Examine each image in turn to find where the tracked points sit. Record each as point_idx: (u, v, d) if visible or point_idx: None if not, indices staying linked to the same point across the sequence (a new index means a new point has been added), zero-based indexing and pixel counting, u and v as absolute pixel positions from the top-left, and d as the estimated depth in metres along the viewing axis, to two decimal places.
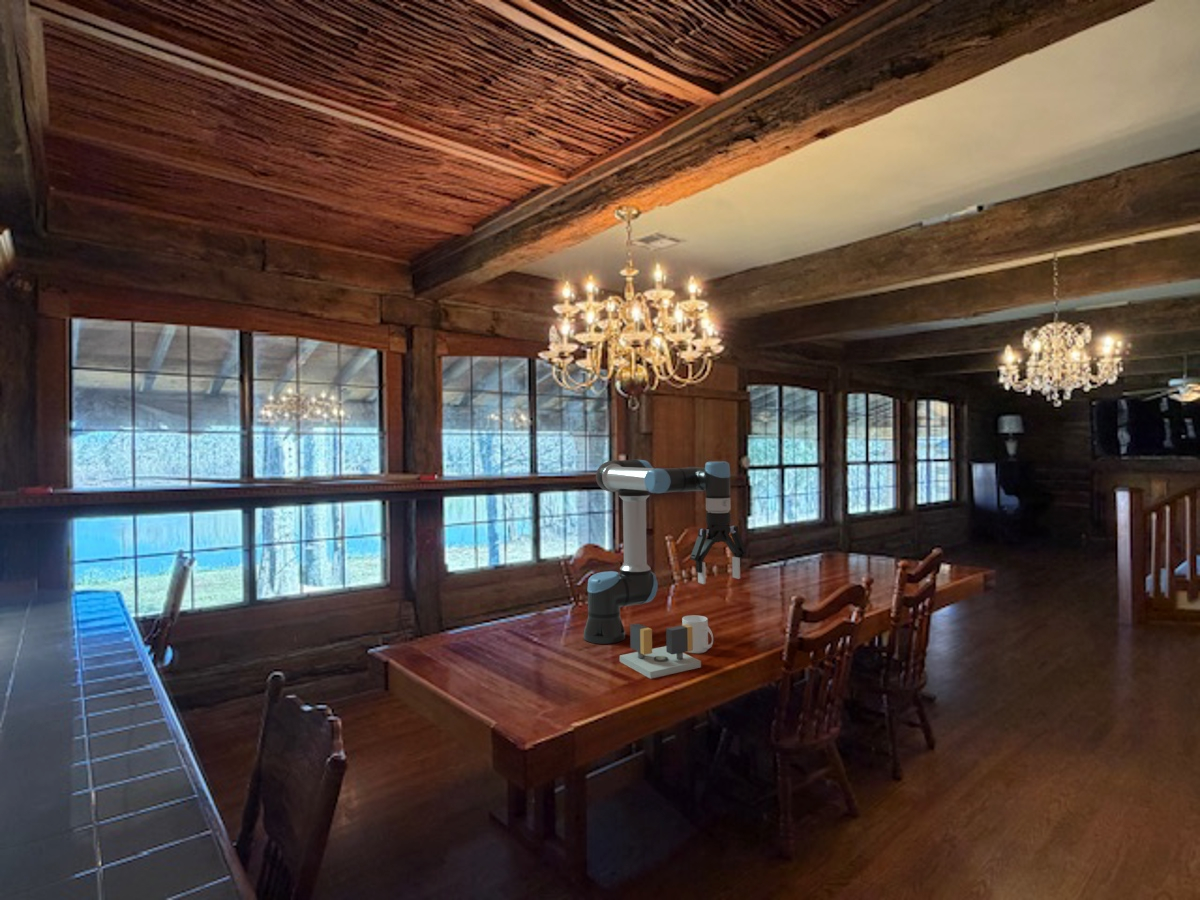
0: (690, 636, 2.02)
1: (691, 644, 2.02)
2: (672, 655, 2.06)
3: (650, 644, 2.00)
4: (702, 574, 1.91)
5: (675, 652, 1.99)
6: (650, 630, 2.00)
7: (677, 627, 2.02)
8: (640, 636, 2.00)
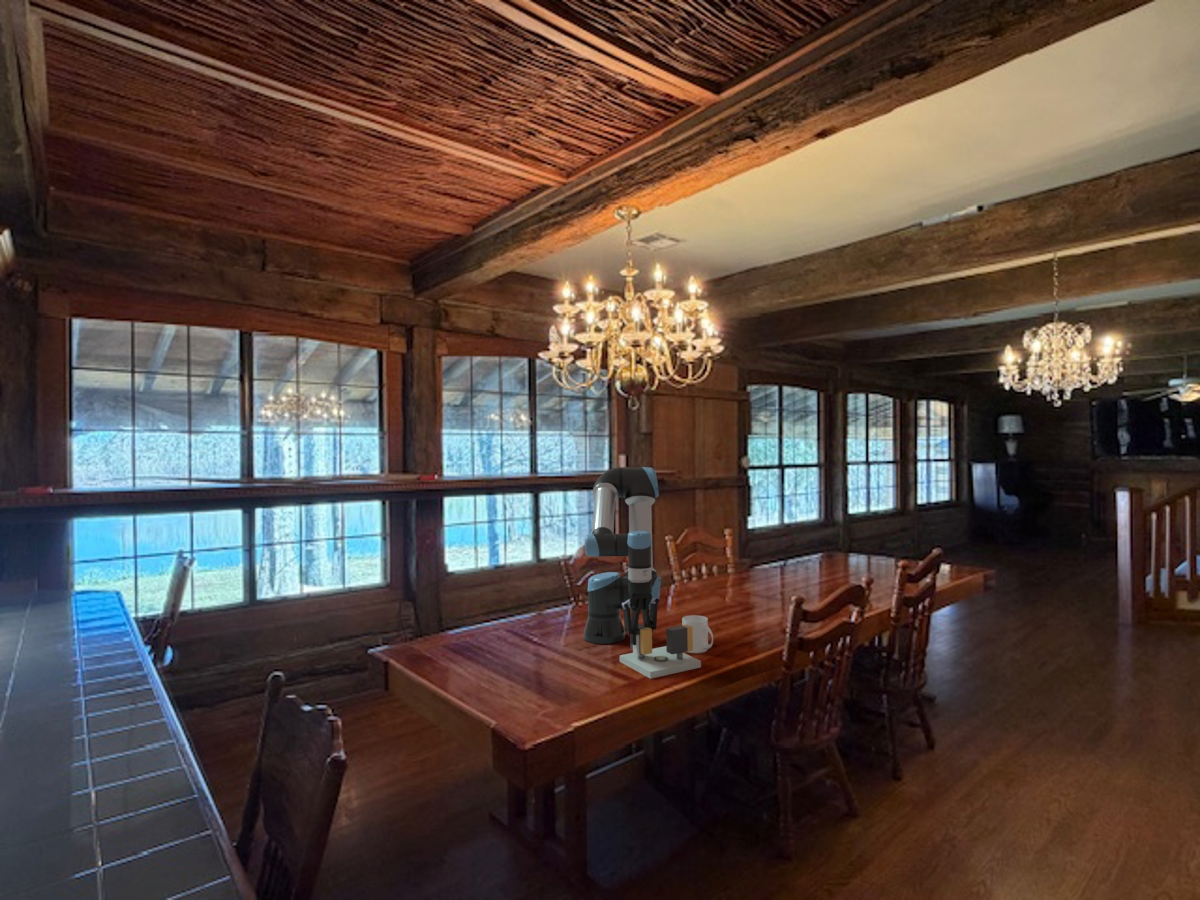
0: (690, 636, 2.02)
1: (691, 644, 2.02)
2: (672, 655, 2.06)
3: (650, 644, 2.00)
4: (636, 646, 2.01)
5: (675, 652, 1.99)
6: (650, 630, 2.00)
7: (677, 627, 2.02)
8: (640, 636, 2.00)
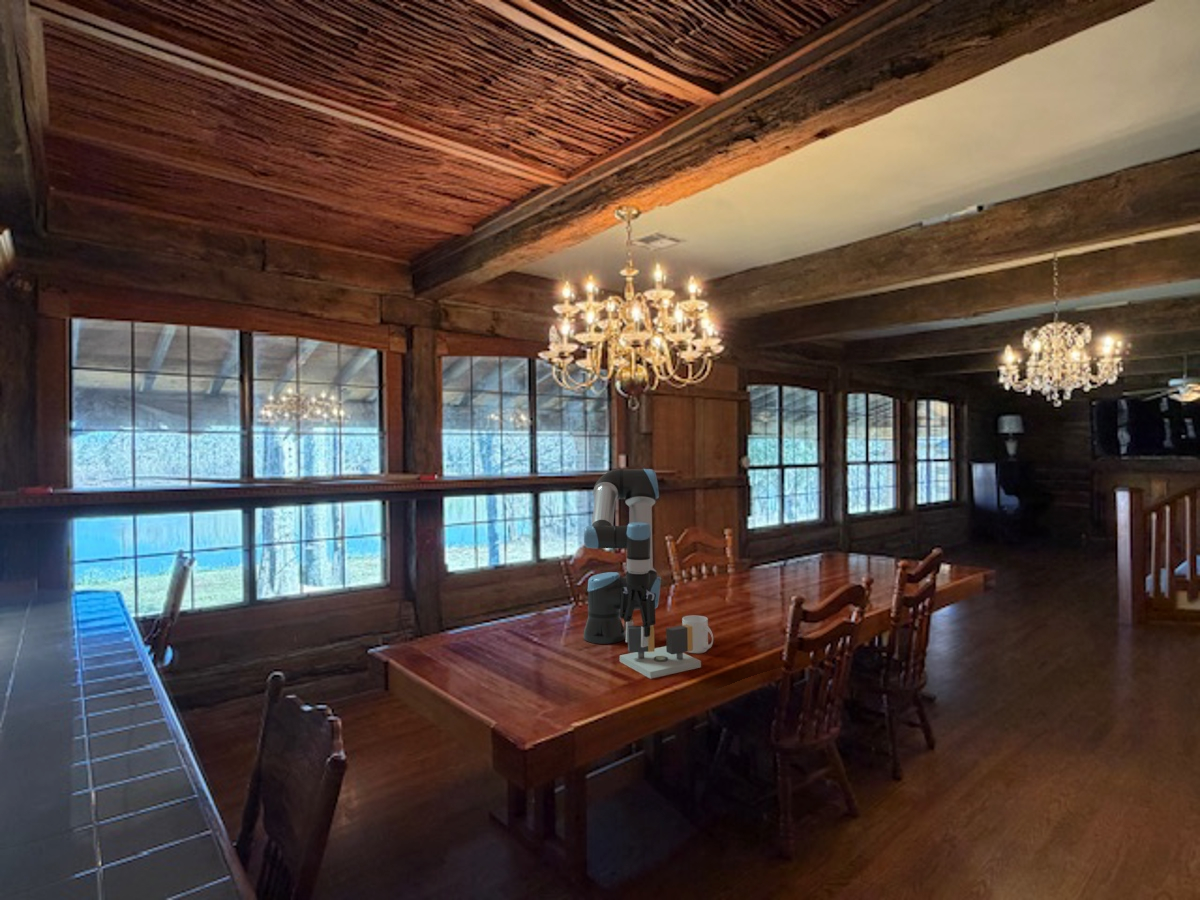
0: (690, 636, 2.02)
1: (691, 644, 2.02)
2: (672, 655, 2.06)
3: None
4: (647, 637, 2.01)
5: (675, 652, 1.99)
6: (652, 626, 2.05)
7: (677, 627, 2.02)
8: None
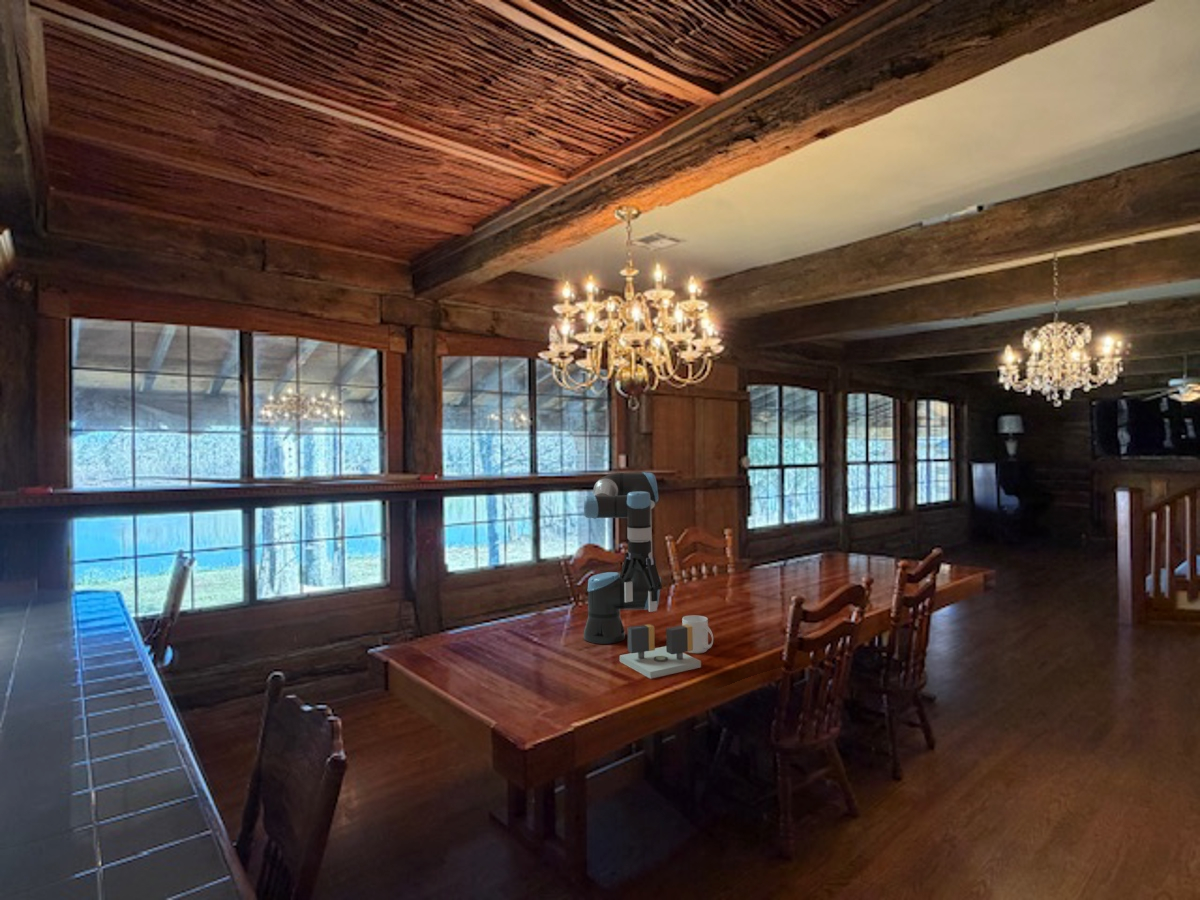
0: (690, 636, 2.02)
1: (691, 644, 2.02)
2: (672, 655, 2.06)
3: None
4: (655, 601, 1.98)
5: (675, 652, 1.99)
6: None
7: (677, 627, 2.02)
8: (649, 633, 2.03)
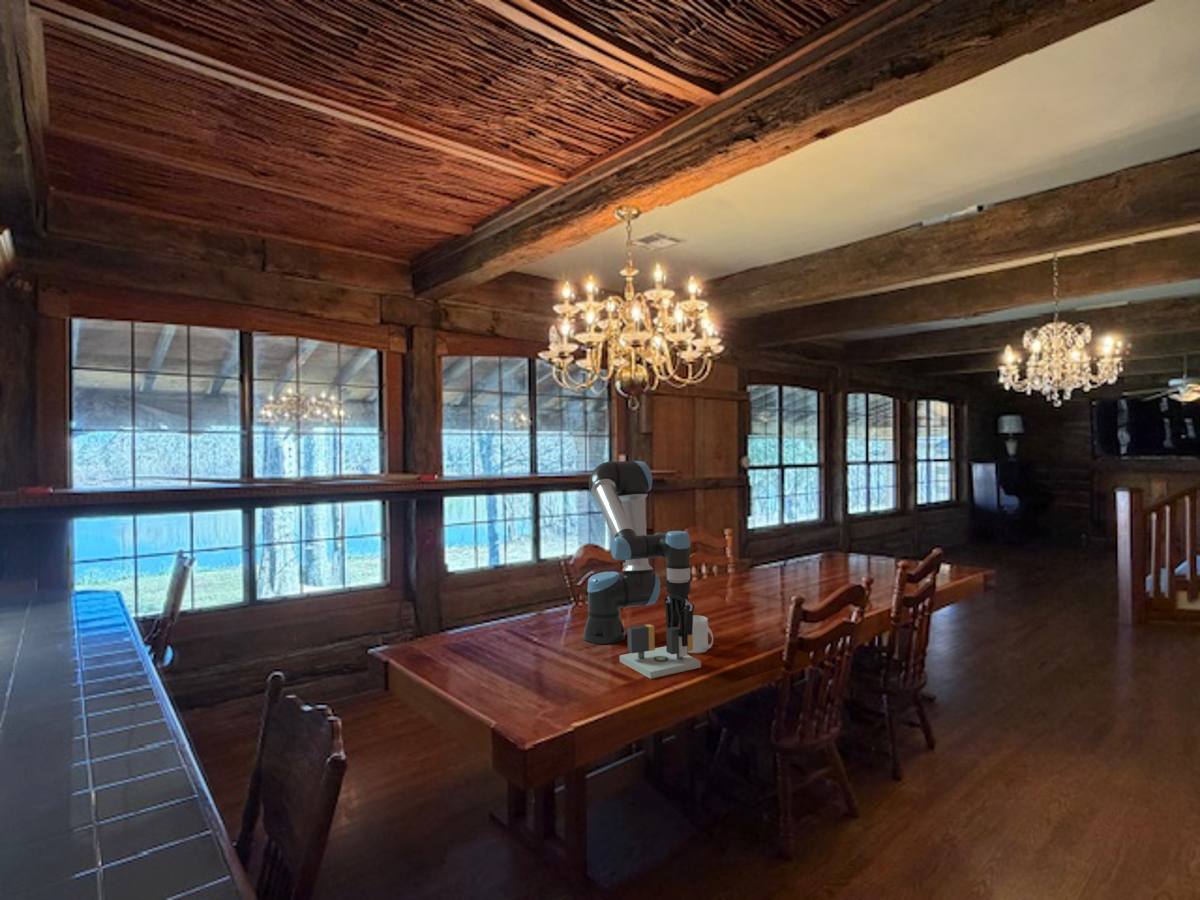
0: (690, 636, 2.02)
1: (691, 644, 2.02)
2: (672, 655, 2.06)
3: None
4: (685, 646, 2.00)
5: (675, 652, 1.99)
6: None
7: (677, 627, 2.02)
8: (649, 633, 2.03)
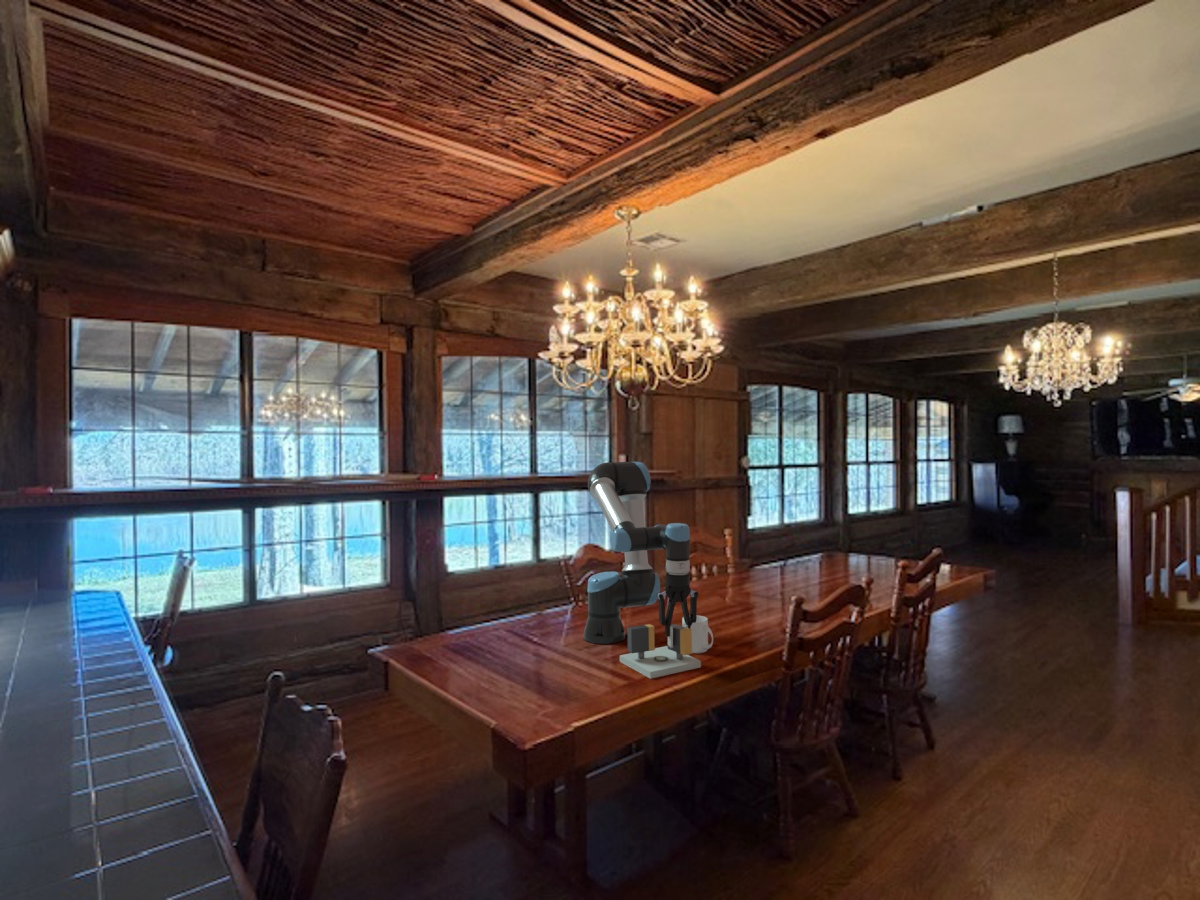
0: (682, 640, 1.98)
1: (683, 648, 1.98)
2: (672, 655, 2.06)
3: None
4: (670, 638, 2.01)
5: (670, 648, 2.03)
6: None
7: (678, 626, 2.03)
8: (649, 633, 2.03)
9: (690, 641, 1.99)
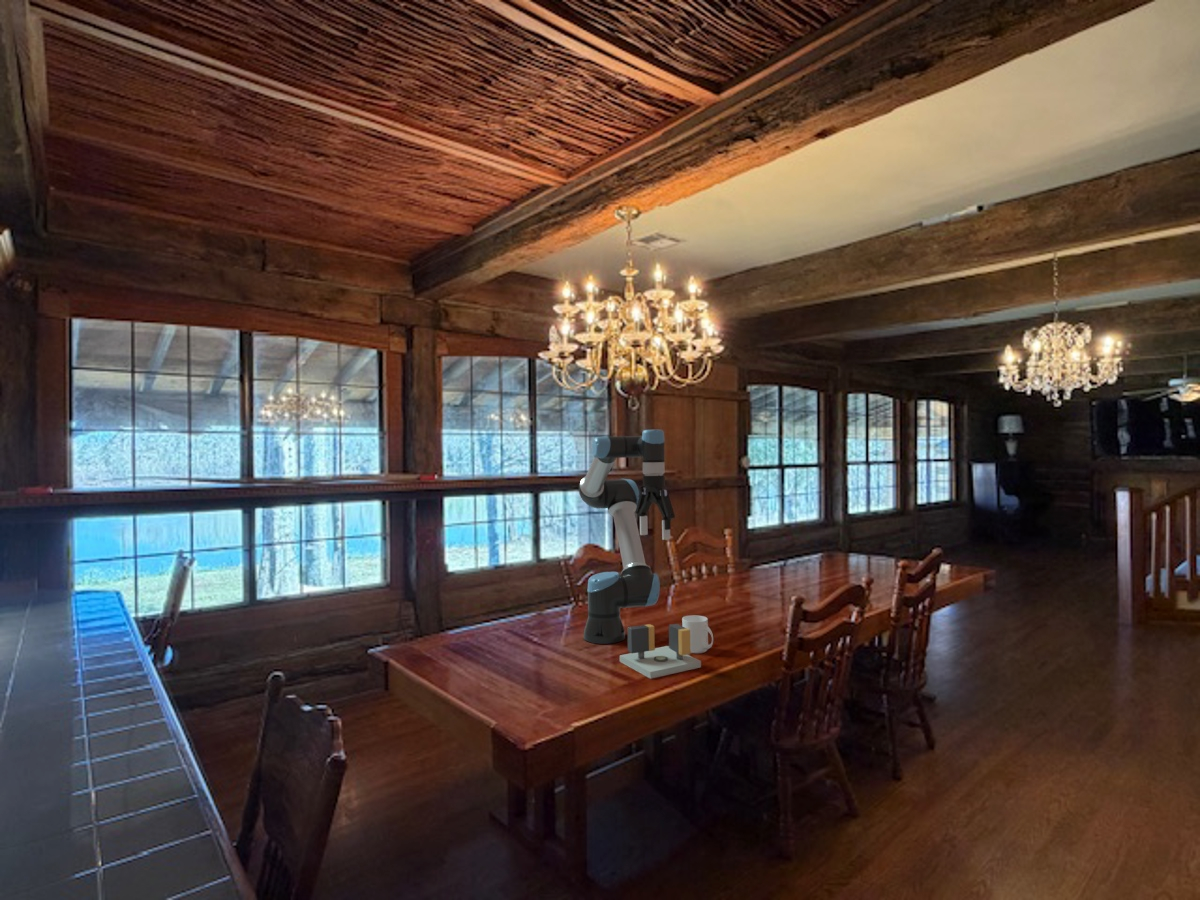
0: (680, 640, 1.98)
1: (681, 648, 1.98)
2: (672, 655, 2.06)
3: None
4: (668, 530, 2.11)
5: (671, 648, 2.04)
6: None
7: (679, 626, 2.03)
8: (649, 633, 2.03)
9: (689, 642, 1.99)
